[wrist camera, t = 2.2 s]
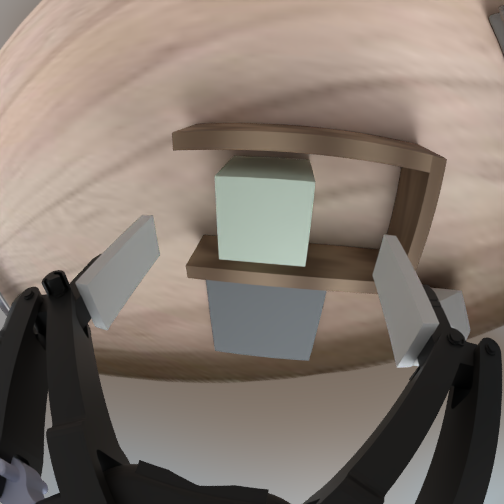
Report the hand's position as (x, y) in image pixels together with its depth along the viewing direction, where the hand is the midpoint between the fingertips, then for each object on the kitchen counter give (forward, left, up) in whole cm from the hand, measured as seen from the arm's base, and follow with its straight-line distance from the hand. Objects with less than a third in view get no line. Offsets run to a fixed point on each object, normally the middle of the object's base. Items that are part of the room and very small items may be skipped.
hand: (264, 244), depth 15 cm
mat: (0, -15, -9) cm, 17 cm away
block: (0, 0, -9) cm, 9 cm away
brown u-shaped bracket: (+3, 0, -9) cm, 9 cm away
